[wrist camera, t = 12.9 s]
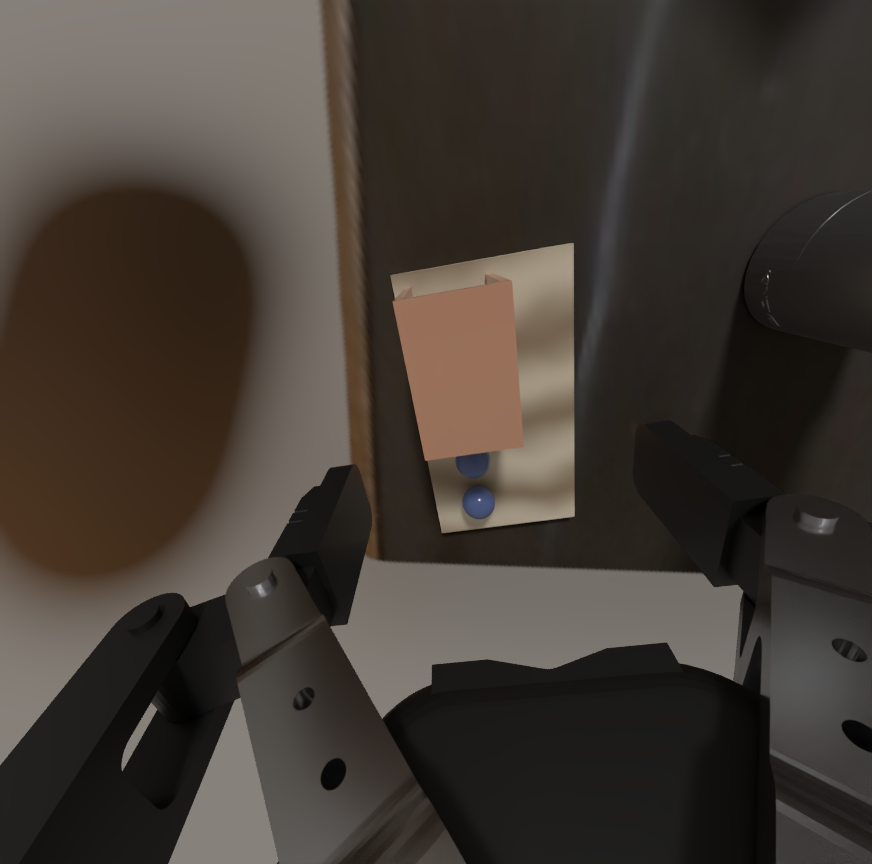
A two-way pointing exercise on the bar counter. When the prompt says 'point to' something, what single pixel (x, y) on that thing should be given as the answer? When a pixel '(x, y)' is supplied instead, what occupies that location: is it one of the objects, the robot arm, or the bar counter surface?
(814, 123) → the bar counter surface
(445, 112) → the bar counter surface
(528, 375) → the birch mat
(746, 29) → the bar counter surface
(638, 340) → the bar counter surface
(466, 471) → the navy marble front
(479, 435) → the terracotta cover
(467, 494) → the navy marble back
